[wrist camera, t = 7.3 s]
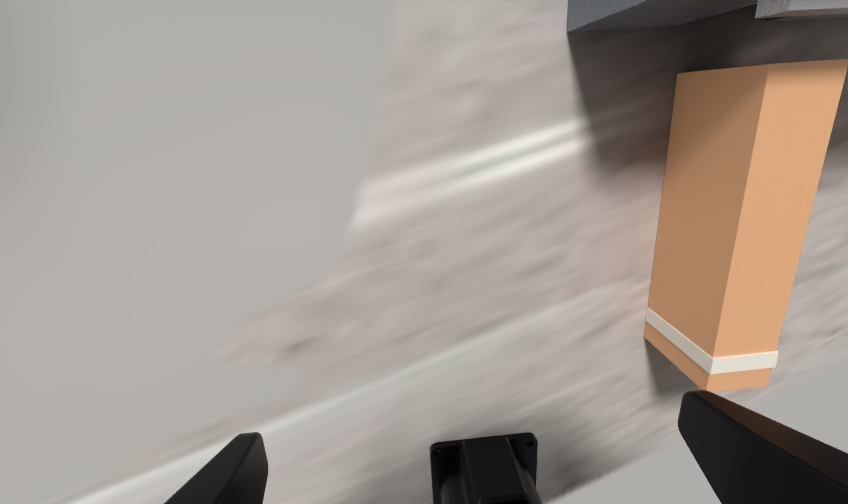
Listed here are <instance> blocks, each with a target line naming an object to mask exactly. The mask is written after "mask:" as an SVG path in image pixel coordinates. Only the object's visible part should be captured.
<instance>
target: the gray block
mask: <svg viewBox="0 0 848 504" xmlns="http://www.w3.org/2000/svg"><path fill="white" fill-rule="evenodd" d="M753 4H757V9H756V14H755V18H767V21H766V22H771V21H790V20H809V19H828V18H847V17H848V0H569V1H568V20H567V32H580V31H599V30H618V29H637V28H656V27H672V26H675V25H679V24H683V23H687V22H690V21H694V20H698V19H701V18H705V17H709V16H713V15H716V14H720V13H724V12H727V11H731V10H735V9H739V8H742V7H746V6H750V5H753Z"/></svg>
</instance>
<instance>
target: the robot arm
mask: <svg viewBox="0 0 848 504" xmlns="http://www.w3.org/2000/svg"><path fill="white" fill-rule="evenodd" d="M678 427H679V431H680V433H681V435H682V437H683V439H684V440H685V442H686V444H687V446H688V447H689V449H690V451H691V452H692V454H693V456H694V457H695V459H696V461H697V463H698V464H699V466H700V468H701V470H702V471H703V473H704V475H705V476H706V478H707V480H708V482H709V483H710V485H711V487H712V488H713V490H714V492H715V493H716V495H717V497H718V498H719V500H720V502H721V503H722V504H848V453H845V452H843V451H841V450H839V449H836V448H834V447H832V446H830V445H828V444H825V443H823V442H821V441H819V440H816V439H814V438H812V437H810V436H807V435H805V434H803V433H801V432H798V431H796V430H794V429H792V428H790V427H787V426H785V425H783V424H781V423H778V422H776V421H774V420H772V419H769V418H767V417H765V416H763V415H761V414H758V413H756V412H754V411H752V410H749V409H747V408H745V407H743V406H741V405H738V404H736V403H734V402H732V401H729V400H727V399H725V398H723V397H721V396H718V395H716V394H714V393H712V392H709V391H707V390H695V391H687V392H685V394H684V395H683V398H682V403H681V408H680V413H679V418H678ZM527 441H530V442H527ZM537 446H538V443H537V439H536V437H535V435H534V434H533V433H519V434H510V435H500V436H491V437H482V438H473V439H464V440H455V441H446V442H437V443H434V444H433V445H431V447H430V461H431V475H432V490H433V504H542V503H541V500H540V498H539V495H538V493H537V490H536V469H537ZM436 451H440V452H436ZM267 476H268V461H267V457H266V452H265V447H264V443H263V439H262V436H261V434H260V433H258V432H253V433H242V434H239V435H237V436H236V437H235V438H234V439H233V440H232V441H231V442H230V443H229V444H227V445H226V446H225V447H224V448H223V449H222V450H221V451H220V452H219V453H218V454H217V455H216V456H215V457H214V458H212V459H211V460H210V461H209V462H208V463H207V464H206V465H205V466H204V467H203V468H202V469H201V470H200V471H198V472H197V473H196V474H195V475H194V476H193V477H192V478H191V479H190V480H189V481H188V482H187V483H186V484H184V485H183V486H182V487H181V488H180V489H179V490H178V491H177V492H176V493H175V494H174V495H173V496H172V497H171V498H169V499H168V500H167V501H166V502H165V503H164V504H262V503H263V498H264V493H265V487H266V482H267Z"/></svg>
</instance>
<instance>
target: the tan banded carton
mask: <svg viewBox="0 0 848 504" xmlns="http://www.w3.org/2000/svg"><path fill="white" fill-rule="evenodd" d="M847 68H848V59H834V60H819V61H805V62H790V63H775V64H764V65H754V66H744V67H734V68H725V69H715V70H705V71H696V72H686V73H677V81H676V89H675V97H674V105H673V113H672V120H671V128H670V136H669V144H668V152H667V160H666V168H665V175H664V183H663V191H662V199H661V207H660V215H659V222H658V230H657V238H656V246H655V254H654V262H653V269H652V277H651V285H650V293H649V301H648V307H647V310H646V318H645V320H646V324H645V332H644V337H645V338H646V339H647V340H648V341H649V342H650V343H651V344H652V345H653V346H655V347H656V348H657V349H658V350H659V351H660V352H661V353H662V354H663V355H664V356H666V357H667V358H668V359H669V360H670V361H671V362H672V363H673V364H674V365H675V366H677V367H678V368H679V369H680V370H681V371H682V372H683V373H684V374H685V375H686V376H688V377H689V378H690V379H691V380H692V381H693V382H694V383H695V384H696V385H698V386H699V387H700V388H701V389H702V390H707V391H709V392H719V391H728V390H737V389H746V388H755V387H764V386H767V385H768V381H769V377H770V373H771V369H772V368H774V367H775V366H776V362H777V358H778V354H779V352H778V351H776V349H777V345H778V341H779V337H780V333H781V329H782V326H783V322H784V318H785V314H786V310H787V306H788V302H789V298H790V294H791V290H792V286H793V282H794V278H795V274H796V270H797V266H798V262H799V258H800V254H801V250H802V246H803V242H804V238H805V234H806V230H807V227H808V223H809V219H810V215H811V211H812V207H813V203H814V199H815V195H816V191H817V187H818V183H819V179H820V175H821V171H822V167H823V163H824V159H825V155H826V151H827V147H828V143H829V139H830V135H831V132H832V128H833V124H834V120H835V116H836V112H837V108H838V104H839V100H840V96H841V92H842V88H843V84H844V80H845V76H846V72H847Z"/></svg>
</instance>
